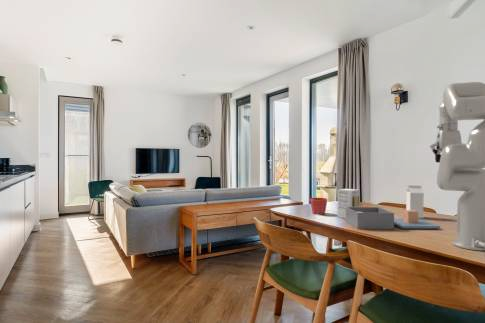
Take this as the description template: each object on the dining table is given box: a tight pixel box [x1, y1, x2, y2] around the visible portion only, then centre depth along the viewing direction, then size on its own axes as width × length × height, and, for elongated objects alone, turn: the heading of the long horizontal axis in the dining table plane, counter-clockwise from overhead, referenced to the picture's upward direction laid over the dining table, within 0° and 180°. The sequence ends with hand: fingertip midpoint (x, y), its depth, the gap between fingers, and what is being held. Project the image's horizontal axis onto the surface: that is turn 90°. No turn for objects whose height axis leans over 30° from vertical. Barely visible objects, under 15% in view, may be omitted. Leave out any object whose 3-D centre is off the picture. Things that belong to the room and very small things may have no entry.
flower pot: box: [309, 197, 328, 216], centre depth 192 cm, size 11×11×10 cm
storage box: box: [345, 206, 395, 230], centre depth 159 cm, size 18×18×8 cm
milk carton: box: [405, 185, 424, 219], centre depth 180 cm, size 7×7×19 cm
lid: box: [394, 209, 441, 230], centre depth 159 cm, size 19×19×8 cm
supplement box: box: [337, 188, 360, 220], centre depth 179 cm, size 10×9×17 cm
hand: (448, 162), depth 150 cm, fingers open, 9 cm apart
